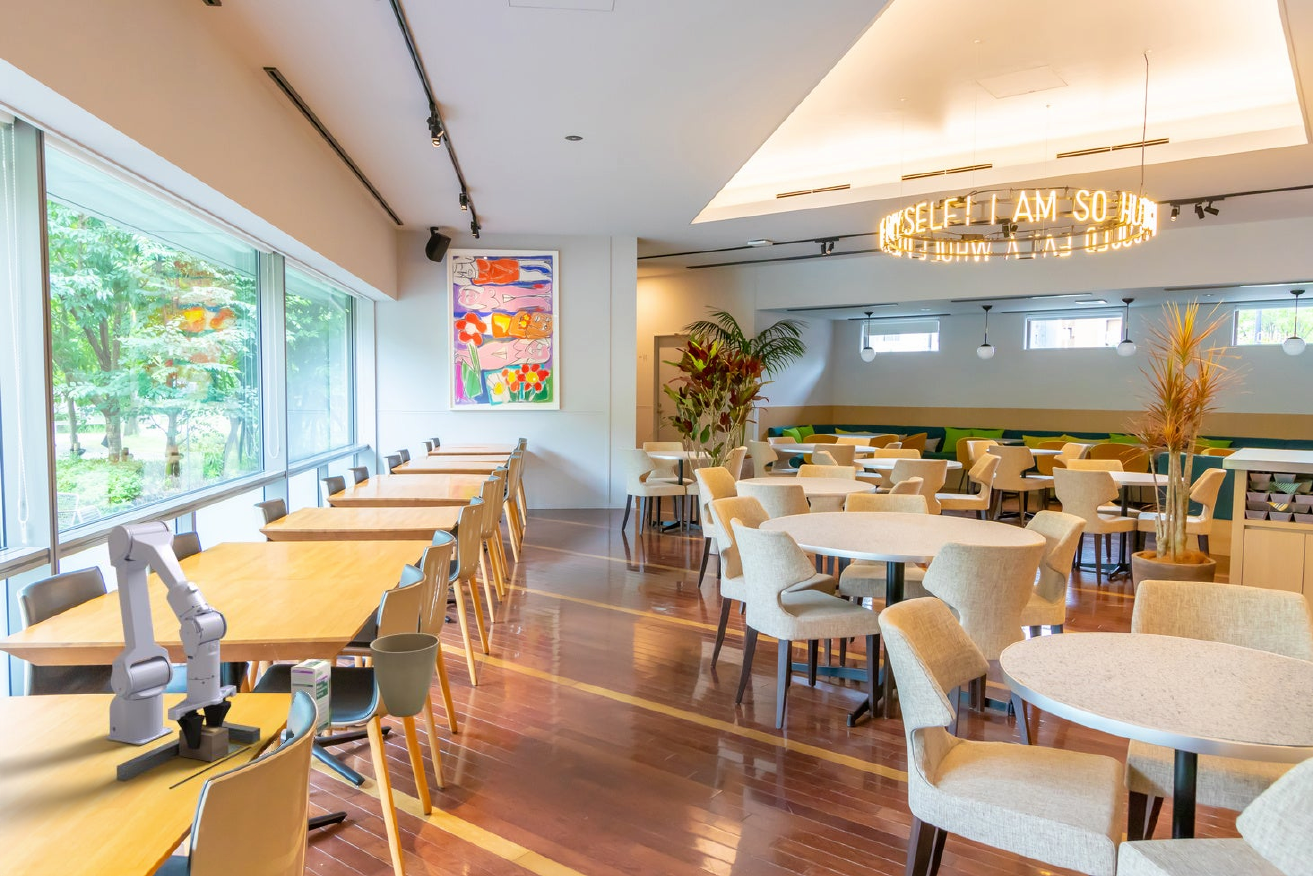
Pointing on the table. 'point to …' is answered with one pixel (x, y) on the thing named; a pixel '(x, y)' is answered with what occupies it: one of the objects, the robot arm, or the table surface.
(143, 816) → the table surface
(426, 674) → the plant pot
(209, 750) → the taupe rectangular block
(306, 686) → the syrup box
